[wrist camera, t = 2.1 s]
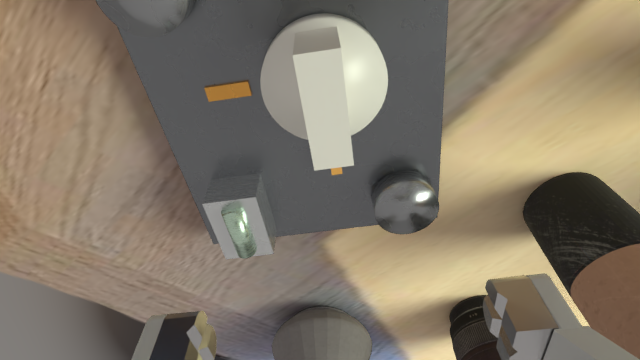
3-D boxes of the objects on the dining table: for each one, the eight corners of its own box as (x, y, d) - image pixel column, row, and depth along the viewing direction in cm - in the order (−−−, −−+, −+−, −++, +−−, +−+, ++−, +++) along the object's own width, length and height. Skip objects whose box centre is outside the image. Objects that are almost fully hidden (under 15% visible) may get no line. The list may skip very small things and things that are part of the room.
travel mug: (536, 244, 38) (702, 497, 22) (506, 199, 34) (678, 461, 18) (617, 207, 35) (876, 465, 19) (593, 153, 32) (887, 415, 15)
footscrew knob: (249, 24, 23) (234, 53, 18) (381, 3, 22) (398, 28, 18) (285, 171, 29) (280, 219, 25) (388, 157, 29) (402, 204, 24)
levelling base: (92, -73, 22) (30, -66, 17) (444, -137, 20) (484, -149, 16) (218, 228, 36) (203, 278, 31) (431, 202, 34) (450, 251, 30)
